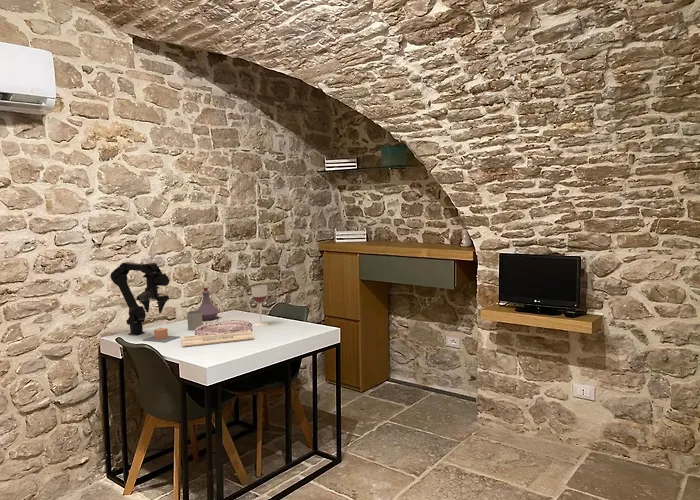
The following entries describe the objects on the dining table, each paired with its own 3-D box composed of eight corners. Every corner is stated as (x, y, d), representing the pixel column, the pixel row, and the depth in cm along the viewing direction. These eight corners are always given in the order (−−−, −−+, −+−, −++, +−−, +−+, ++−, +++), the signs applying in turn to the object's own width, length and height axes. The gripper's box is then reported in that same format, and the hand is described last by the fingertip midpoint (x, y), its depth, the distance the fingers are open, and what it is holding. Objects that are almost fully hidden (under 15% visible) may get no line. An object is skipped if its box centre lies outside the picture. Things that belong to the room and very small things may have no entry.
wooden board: (249, 333, 312) (249, 328, 312) (254, 341, 294) (254, 336, 294) (181, 340, 301) (181, 335, 301) (182, 349, 283) (182, 344, 283)
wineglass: (272, 323, 334) (270, 285, 332) (261, 326, 326) (259, 288, 324) (260, 321, 339) (259, 284, 337) (249, 325, 331) (247, 287, 329)
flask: (225, 316, 358) (224, 286, 356) (210, 322, 343) (208, 290, 341) (204, 315, 364) (202, 285, 362) (188, 321, 349) (186, 289, 347)
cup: (198, 330, 321) (197, 313, 320) (185, 330, 323) (184, 313, 322) (205, 327, 329) (204, 310, 329) (192, 327, 331) (191, 310, 330)
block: (154, 338, 303) (153, 330, 303) (161, 336, 308) (160, 327, 307) (161, 339, 301) (160, 330, 301) (168, 337, 306) (167, 328, 305)
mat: (142, 340, 302) (142, 339, 302) (157, 335, 313) (157, 334, 313) (164, 342, 296) (164, 341, 296) (180, 337, 307) (180, 336, 307)
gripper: (128, 287, 307) (130, 314, 308) (154, 288, 299) (156, 316, 300) (143, 284, 317) (145, 310, 318) (168, 285, 309) (170, 312, 311)
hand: (153, 312), depth 312 cm, fingers open, 9 cm apart
